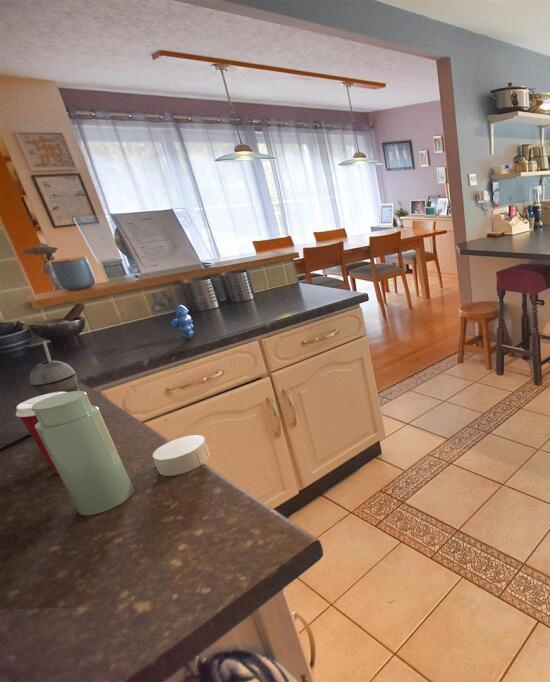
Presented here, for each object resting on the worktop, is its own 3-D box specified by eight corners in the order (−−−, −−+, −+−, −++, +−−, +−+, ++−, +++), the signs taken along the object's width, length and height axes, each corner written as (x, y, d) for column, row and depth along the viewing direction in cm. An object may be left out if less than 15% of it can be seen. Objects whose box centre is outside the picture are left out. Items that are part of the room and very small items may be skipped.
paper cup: (105, 459, 85) (76, 395, 80) (51, 481, 79) (16, 414, 74) (93, 448, 89) (65, 387, 84) (41, 468, 83) (8, 403, 79)
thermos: (65, 516, 70) (11, 412, 63) (105, 486, 77) (60, 390, 70) (108, 514, 70) (58, 410, 63) (145, 485, 76) (103, 387, 70)
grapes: (177, 335, 162) (166, 304, 158) (199, 331, 165) (188, 301, 161) (174, 344, 153) (162, 311, 148) (197, 339, 156) (186, 307, 152)
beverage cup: (45, 430, 98) (4, 348, 91) (84, 414, 104) (48, 336, 97) (65, 434, 95) (24, 350, 89) (103, 418, 102) (68, 338, 95)
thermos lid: (212, 445, 87) (206, 430, 86) (207, 466, 81) (202, 450, 79) (163, 459, 84) (157, 443, 83) (154, 481, 77) (148, 465, 76)
